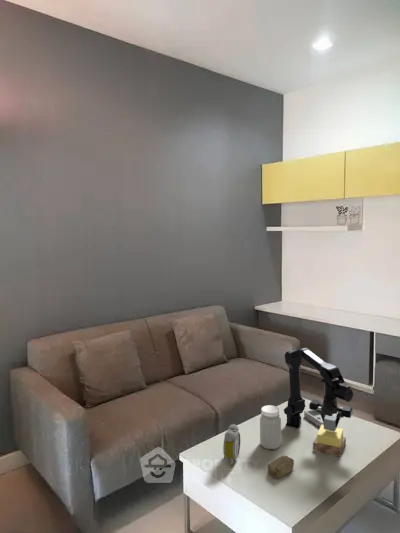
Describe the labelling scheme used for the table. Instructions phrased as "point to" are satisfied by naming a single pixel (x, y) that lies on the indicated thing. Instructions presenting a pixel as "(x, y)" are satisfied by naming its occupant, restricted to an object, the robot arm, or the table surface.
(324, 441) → the tower top slab
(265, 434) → the jar
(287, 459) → the stone block
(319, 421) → the handheld gaming device
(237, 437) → the alarm clock
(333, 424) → the gray cube
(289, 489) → the table surface
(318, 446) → the tower base slab
